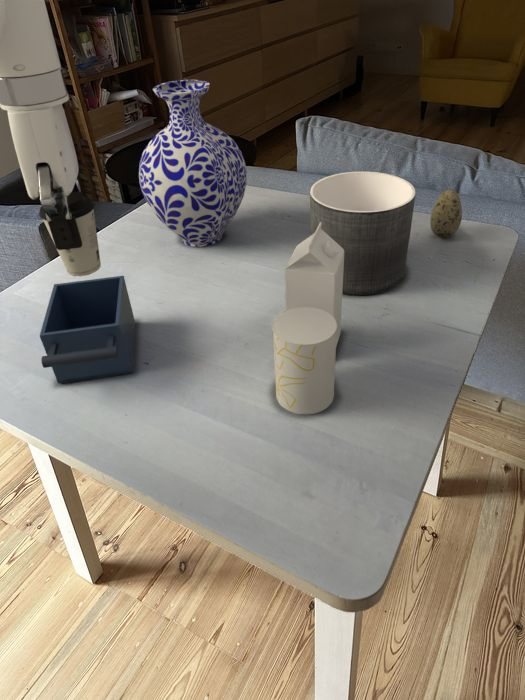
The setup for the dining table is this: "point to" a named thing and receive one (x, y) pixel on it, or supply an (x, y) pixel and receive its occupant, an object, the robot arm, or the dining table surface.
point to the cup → (304, 359)
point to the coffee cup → (87, 255)
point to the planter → (366, 226)
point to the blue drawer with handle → (89, 330)
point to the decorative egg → (446, 214)
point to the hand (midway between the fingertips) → (73, 233)
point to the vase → (192, 169)
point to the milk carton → (316, 276)
